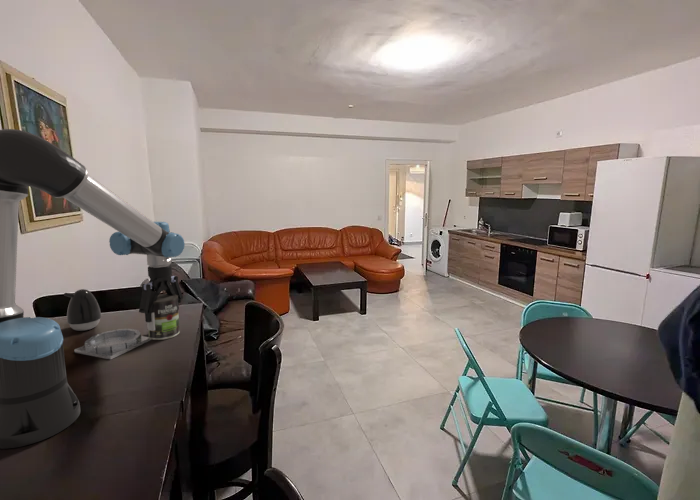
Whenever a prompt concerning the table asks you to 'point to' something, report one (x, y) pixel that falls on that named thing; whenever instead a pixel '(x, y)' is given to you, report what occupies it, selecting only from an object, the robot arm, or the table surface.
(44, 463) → the table surface
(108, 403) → the table surface
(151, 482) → the table surface
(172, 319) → the coffee can
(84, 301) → the pump dispenser
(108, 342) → the duct collar
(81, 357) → the table surface
